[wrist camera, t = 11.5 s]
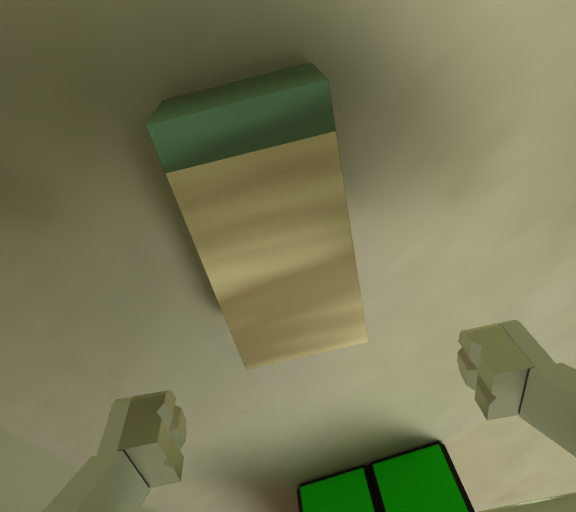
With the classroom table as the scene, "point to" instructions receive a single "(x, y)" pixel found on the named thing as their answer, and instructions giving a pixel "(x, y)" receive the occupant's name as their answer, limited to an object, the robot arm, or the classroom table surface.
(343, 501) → the puzzle cube
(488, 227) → the classroom table surface
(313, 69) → the birch slab
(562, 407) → the robot arm
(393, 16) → the classroom table surface
